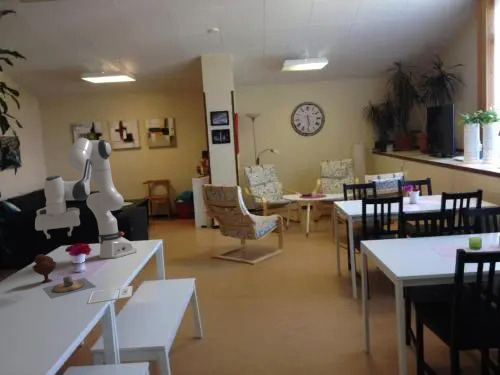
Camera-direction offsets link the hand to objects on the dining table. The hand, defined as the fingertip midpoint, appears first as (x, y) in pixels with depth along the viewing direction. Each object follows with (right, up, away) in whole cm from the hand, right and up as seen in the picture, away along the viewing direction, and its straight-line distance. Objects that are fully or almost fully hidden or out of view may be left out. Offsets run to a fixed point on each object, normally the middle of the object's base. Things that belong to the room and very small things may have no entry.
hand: (59, 237), depth 214 cm
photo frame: (+31, -25, -18) cm, 44 cm away
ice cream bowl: (-10, -24, +9) cm, 28 cm away
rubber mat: (+6, -24, -4) cm, 25 cm away
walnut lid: (+6, -24, -4) cm, 25 cm away
